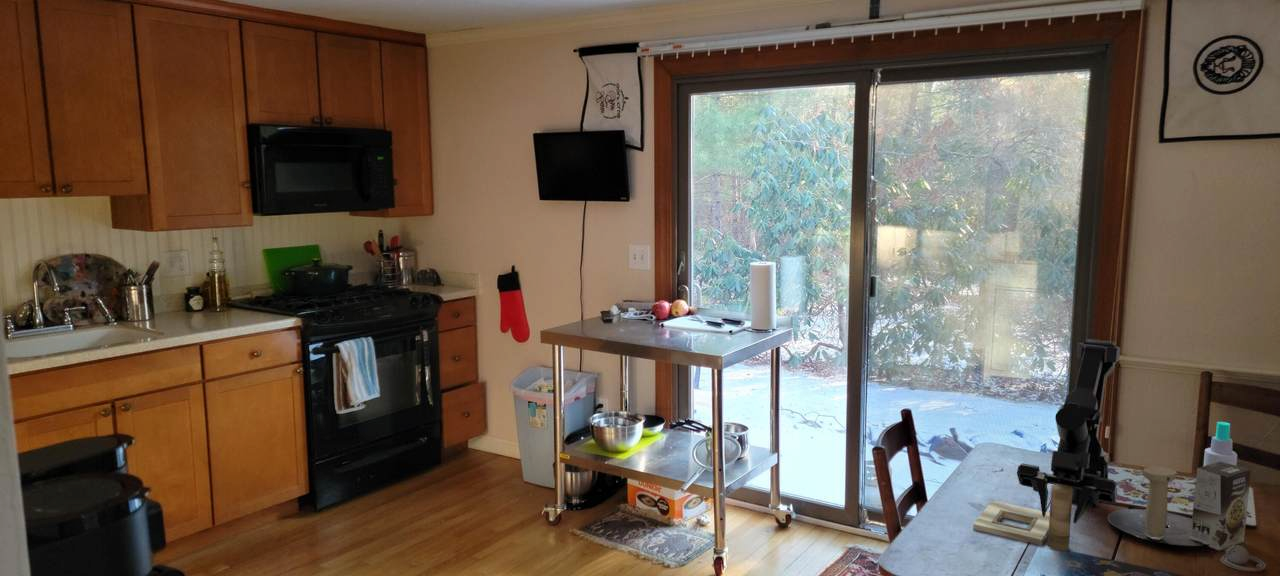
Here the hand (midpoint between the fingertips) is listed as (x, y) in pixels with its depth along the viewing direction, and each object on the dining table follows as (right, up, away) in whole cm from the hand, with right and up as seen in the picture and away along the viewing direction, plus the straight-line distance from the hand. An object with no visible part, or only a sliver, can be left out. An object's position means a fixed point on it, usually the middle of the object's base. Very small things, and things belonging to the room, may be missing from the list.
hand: (1058, 519), depth 180 cm
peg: (+1, -6, +2) cm, 7 cm away
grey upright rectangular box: (+36, -6, +4) cm, 36 cm away
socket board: (-3, -5, +14) cm, 15 cm away
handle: (+23, -6, +6) cm, 25 cm away
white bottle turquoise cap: (+43, -4, +16) cm, 46 cm away
